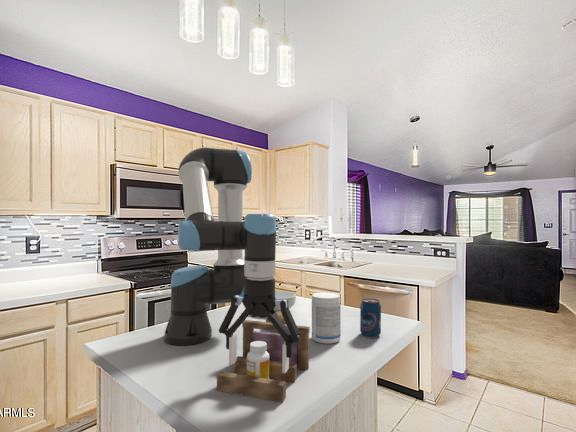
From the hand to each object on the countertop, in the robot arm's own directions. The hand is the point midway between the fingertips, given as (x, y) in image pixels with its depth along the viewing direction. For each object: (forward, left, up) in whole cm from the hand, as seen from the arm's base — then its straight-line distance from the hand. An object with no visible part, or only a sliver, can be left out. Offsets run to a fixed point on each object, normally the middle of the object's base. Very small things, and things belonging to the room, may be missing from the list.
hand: (258, 366), depth 78 cm
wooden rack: (0, +4, -4) cm, 6 cm away
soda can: (+24, +44, -4) cm, 50 cm away
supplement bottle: (0, 0, -4) cm, 4 cm away
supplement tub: (+10, +35, -4) cm, 37 cm away
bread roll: (-8, +41, -5) cm, 42 cm away
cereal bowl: (-17, +63, -4) cm, 65 cm away
